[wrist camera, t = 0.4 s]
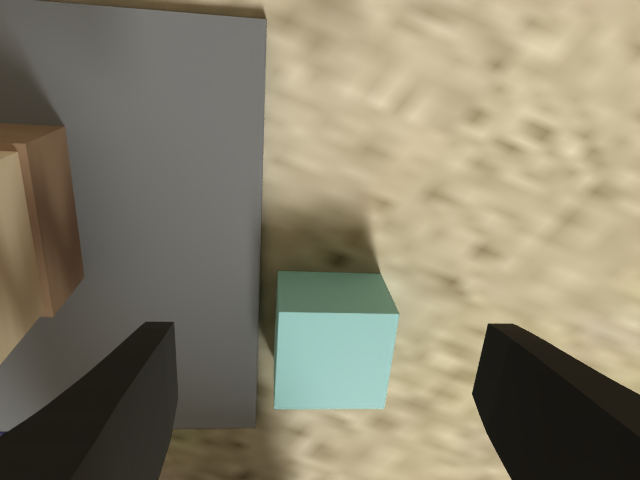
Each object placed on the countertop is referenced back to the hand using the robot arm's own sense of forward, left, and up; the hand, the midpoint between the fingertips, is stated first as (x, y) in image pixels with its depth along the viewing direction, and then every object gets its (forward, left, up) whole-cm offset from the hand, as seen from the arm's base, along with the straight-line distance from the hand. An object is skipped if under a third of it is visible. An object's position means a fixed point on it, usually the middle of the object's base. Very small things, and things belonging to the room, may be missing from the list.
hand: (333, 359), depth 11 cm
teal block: (-5, -1, -10) cm, 11 cm away
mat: (-2, +10, -10) cm, 14 cm away
